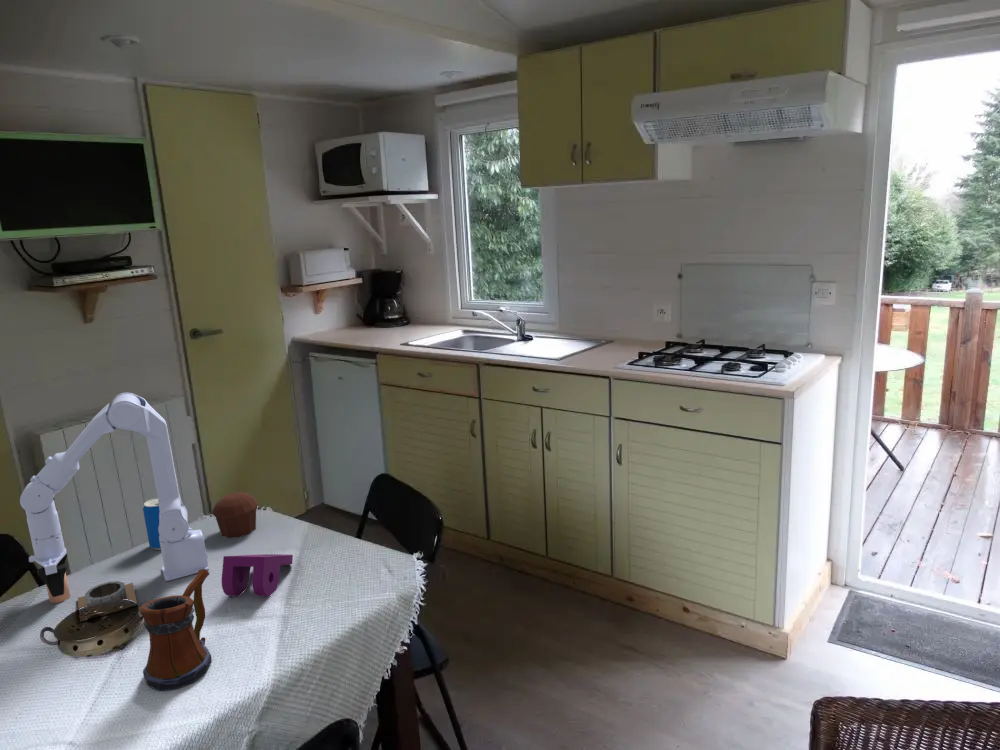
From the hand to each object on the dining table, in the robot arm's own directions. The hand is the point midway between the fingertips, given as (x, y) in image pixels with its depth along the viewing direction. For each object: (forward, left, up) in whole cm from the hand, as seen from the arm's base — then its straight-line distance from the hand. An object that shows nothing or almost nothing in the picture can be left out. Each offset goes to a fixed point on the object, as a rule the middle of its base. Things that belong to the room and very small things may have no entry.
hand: (58, 590), depth 160 cm
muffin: (-41, -12, -2) cm, 43 cm away
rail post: (0, 0, -2) cm, 2 cm away
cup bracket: (-9, +9, -2) cm, 13 cm away
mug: (-21, +43, -2) cm, 48 cm away
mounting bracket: (-40, +20, -2) cm, 45 cm away
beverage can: (-23, -15, -2) cm, 28 cm away
